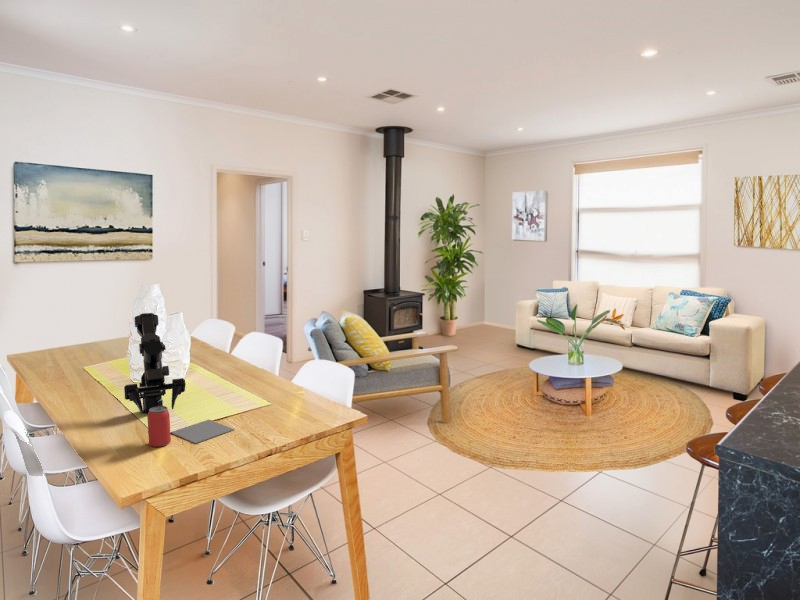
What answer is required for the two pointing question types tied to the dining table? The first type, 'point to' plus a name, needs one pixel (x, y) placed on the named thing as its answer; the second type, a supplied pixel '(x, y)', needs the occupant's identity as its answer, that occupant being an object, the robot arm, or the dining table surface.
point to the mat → (202, 431)
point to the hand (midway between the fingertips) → (157, 410)
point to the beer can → (159, 426)
